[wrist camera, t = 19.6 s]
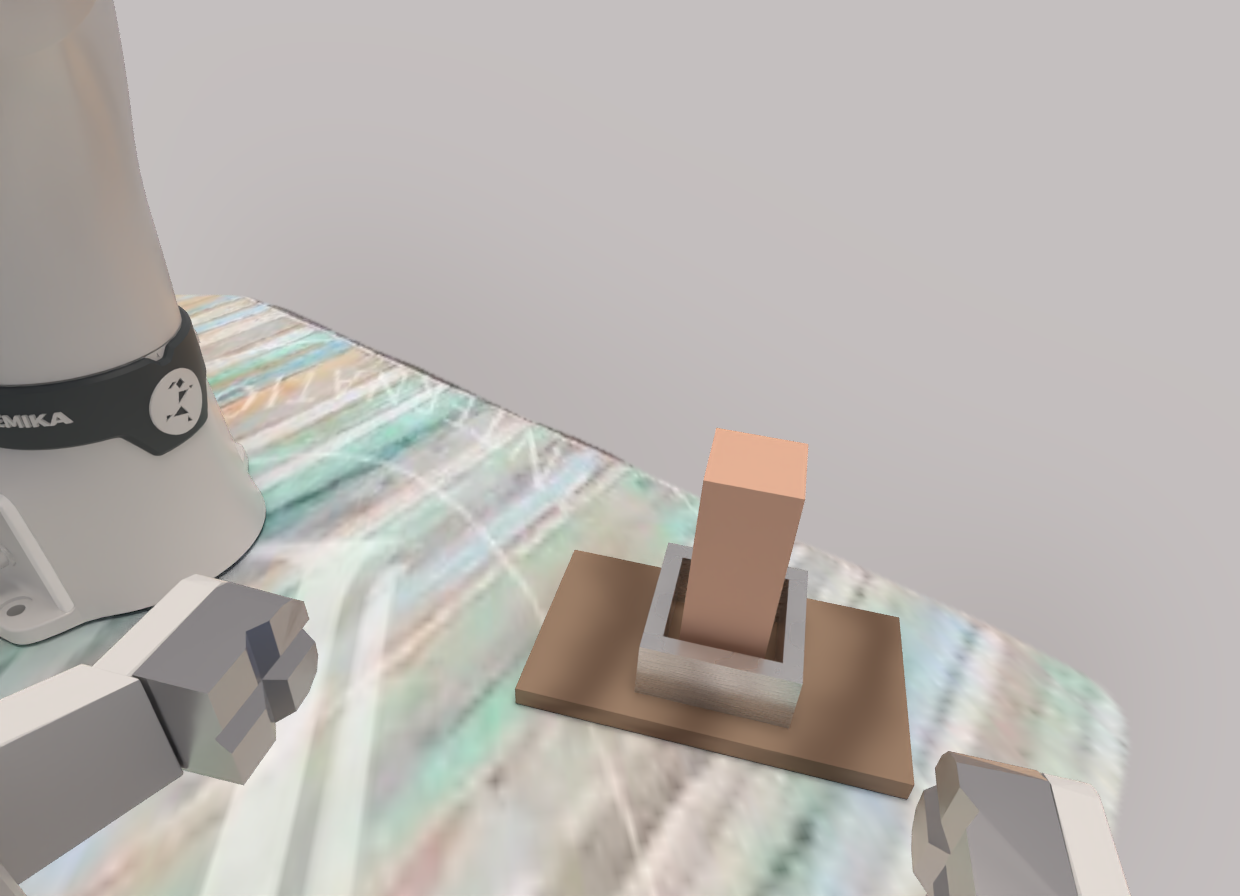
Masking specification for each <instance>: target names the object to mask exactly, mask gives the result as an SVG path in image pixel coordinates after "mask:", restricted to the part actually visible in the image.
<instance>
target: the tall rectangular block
mask: <svg viewBox="0 0 1240 896" xmlns="http://www.w3.org/2000/svg"><path fill="white" fill-rule="evenodd" d="M807 454H808V444H805V443H799V442H794V441H788V440H782V439H777V438H770V437H765V436H760V435H754V434H748V433H742V432H737V431H731V430H725V429H720V428H716V432H715V436H714V440H713V444H712V448H711V452H710V456H709V460H708V465H707V468H706V472H705V476H704V481H703V487H702V494H701V500H700V506H699V513H698V519H697V526H696V533H695V539H694V546H693V552H692V559H691V565H690V572H689V578H688V585H687V591H686V598H685V604H684V611H683V617H682V624H681V630H680V637H679V640H682V641H686V642H691V643H695V644H700V645H704V646H709V647H713V648H717V649H722V650H726V651H731V652H735V653H740V654H744V655H749V656H753V657H758V658H762V659H764V658H765V654H766V651H767V647H768V643H769V639H770V635H771V631H772V627H773V623H774V619H775V615H776V611H777V607H778V603H779V599H780V596H781V592H782V588H783V584H784V580H785V576H786V572H787V568H788V564H789V560H790V556H791V552H792V548H793V544H794V541H795V536H796V533H797V529H798V525H799V521H800V517H801V512H802V509H803V505H804V501H805V488H806V472H807Z"/></svg>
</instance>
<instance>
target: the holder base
mask: <svg viewBox="0 0 1240 896" xmlns="http://www.w3.org/2000/svg"><path fill="white" fill-rule="evenodd" d="M660 572H661V568H660V567H655V566H650V565H645V564H640V563H636V562H631V561H626V560H621V559H617V558H612V557H607V556H602V555H597V554H593V553H588V552H583V551H578V550H574V553H573V555H572V557H571V560H570V562H569V564H568V567H567V569H566V571H565V574H564V576H563V578H562V581H561V583H560V585H559V588H558V590H557V592H556V595H555V597H554V599H553V602H552V604H551V606H550V609H549V611H548V613H547V616H546V618H545V620H544V623H543V625H542V627H541V630H540V632H539V634H538V637H537V639H536V641H535V644H534V646H533V648H532V651H531V653H530V655H529V658H528V660H527V662H526V665H525V667H524V669H523V672H522V674H521V676H520V679H519V681H518V683H517V686H516V688H515V696H516V703H518V704H522V705H526V706H530V707H534V708H538V709H542V710H546V711H550V712H554V713H558V714H562V715H567V716H571V717H575V718H579V719H583V720H587V721H591V722H595V723H599V724H603V725H607V726H611V727H615V728H619V729H623V730H628V731H632V732H636V733H640V734H644V735H648V736H652V737H656V738H660V739H664V740H668V741H672V742H676V743H680V744H685V745H689V746H693V747H697V748H701V749H705V750H709V751H713V752H717V753H721V754H725V755H729V756H733V757H737V758H741V759H746V760H750V761H754V762H758V763H762V764H766V765H770V766H774V767H778V768H782V769H786V770H790V771H794V772H798V773H803V774H807V775H811V776H815V777H819V778H823V779H827V780H831V781H835V782H839V783H843V784H847V785H851V786H855V787H859V788H864V789H868V790H872V791H876V792H880V793H884V794H888V795H892V796H896V797H900V798H904V799H908V797H909V795H910V793H911V791H912V789H913V787H914V777H913V766H912V755H911V744H910V733H909V722H908V711H907V700H906V689H905V677H904V666H903V655H902V644H901V633H900V622H899V618H898V617H894V616H889V615H884V614H879V613H875V612H870V611H865V610H860V609H855V608H851V607H846V606H841V605H836V604H832V603H827V602H822V601H817V600H812V599H808V598H807V602H806V623H805V645H804V666H803V685H802V688H801V691H800V694H799V698H798V701H797V704H796V707H795V711H794V714H793V717H792V720H791V724H790V727H789V728H784V727H780V726H776V725H772V724H768V723H763V722H759V721H755V720H751V719H747V718H742V717H738V716H734V715H730V714H725V713H721V712H717V711H713V710H709V709H704V708H700V707H696V706H692V705H687V704H683V703H679V702H675V701H671V700H666V699H662V698H658V697H654V696H650V695H645V694H641V693H637V692H635V683H636V673H637V664H638V655H639V647H640V643H641V640H642V636H643V632H644V629H645V625H646V622H647V618H648V614H649V611H650V607H651V604H652V600H653V597H654V593H655V589H656V586H657V582H658V579H659V575H660ZM684 604H685V603H683V602H679V601H676V605H675V609H674V613H673V617H672V621H671V625H670V629H669V634H668V638H673V639H677V640H679V637H680V630H681V624H682V617H683V611H684ZM777 627H778V623H776V622H774V623H773V627H772V631H771V635H770V639H769V643H768V647H767V651H766V654H765V658H764V659H767V660H771V661H775V650H776V639H777Z"/></svg>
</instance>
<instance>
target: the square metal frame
mask: <svg viewBox="0 0 1240 896" xmlns="http://www.w3.org/2000/svg"><path fill="white" fill-rule="evenodd" d="M692 552H693V547H688V546H683V545H678V544H673V543H668V546H667V550H666V554H665V557H664V561H663V564H662V568H661V572H660V575H659V579H658V582H657V586H656V589H655V593H654V597H653V600H652V604H651V607H650V611H649V614H648V618H647V622H646V625H645V629H644V632H643V636H642V640H641V643H640V647H639V655H638V664H637V673H636V683H635V692H637V693H641V694H645V695H650V696H654V697H658V698H662V699H666V700H671V701H675V702H679V703H683V704H687V705H692V706H696V707H700V708H704V709H709V710H713V711H717V712H721V713H725V714H730V715H734V716H738V717H742V718H747V719H751V720H755V721H759V722H763V723H768V724H772V725H776V726H780V727H784V728H789V727H790V724H791V720H792V717H793V714H794V711H795V707H796V704H797V701H798V698H799V694H800V691H801V688H802V685H803V666H804V645H805V623H806V602H807V580H808V571H806V570H801V569H796V568H791V567H788V568H787V572H786V576H785V580H784V584H783V588H782V592H781V596H780V599H779V603H778V607H777V611H776V615H775V619H774V622H776V623H778V627H777V639H776V650H775V661H771V660H767V659H762V658H758V657H753V656H749V655H744V654H740V653H735V652H731V651H726V650H722V649H717V648H713V647H709V646H704V645H700V644H695V643H691V642H686V641H682V640H677V639H673V638H668V634H669V629H670V625H671V621H672V617H673V613H674V609H675V605H676V601H679V602H683V603H685V598H686V591H687V585H688V578H689V572H690V565H691V559H692Z"/></svg>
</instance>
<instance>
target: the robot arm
mask: <svg viewBox="0 0 1240 896" xmlns="http://www.w3.org/2000/svg"><path fill="white" fill-rule="evenodd" d="M199 343H200V341H199V338H198V335H197V332H196V331H195V329H194V328H193V325H192V322H191V319H190V317H189V315H188V314H187V312H186V311H185V310H184V309H182V308H181V307H180V306H178V304H177V301H176V297H175V294H174V290H173V287H172V283H171V280H170V276H169V273H168V269H167V266H166V262H165V259H164V256H163V252H162V249H161V246H160V243H159V239H158V235H157V232H156V229H155V225H154V222H153V219H152V215H151V212H150V209H149V206H148V202H147V198H146V194H145V190H144V187H143V182H142V178H141V174H140V169H139V164H138V159H137V153H136V146H135V141H134V133H133V126H132V115H131V107H130V100H129V91H128V84H127V77H126V71H125V64H124V58H123V51H122V45H121V40H120V34H119V28H118V23H117V17H116V12H115V6H114V1H113V0H0V637H2V638H4V639H6V640H8V641H10V642H11V643H14V644H30V643H35V642H38V641H41V640H44V639H47V638H49V637H52V636H54V635H57V634H59V633H62V632H64V631H66V630H68V629H71V628H73V627H75V626H78V625H80V624H82V623H84V622H87V621H90V620H94V619H98V618H102V617H106V616H111V615H117V614H122V613H127V612H131V611H136V610H140V609H143V608H147V607H150V606H154V605H155V606H154V607H153V608H152V609H151V610H150V611H149V612H148V613H147V614H146V615H145V616H144V617H143V618H142V619H141V620H139V621H138V622H137V623H136V624H135V625H134V626H133V627H132V628H131V629H130V630H129V631H128V632H127V633H126V634H125V635H124V636H123V637H122V638H121V639H120V640H119V641H118V642H117V643H116V644H115V645H114V646H113V647H112V648H110V649H109V650H108V651H107V652H106V653H105V654H104V655H103V656H102V657H101V658H100V659H99V660H98V661H97V662H96V663H95V664H94V665H93V666H90V665H85V664H80V665H78V666H76V667H73V668H71V669H69V670H67V671H64V672H62V673H60V674H57V675H55V676H53V677H51V678H48V679H46V680H44V681H41V682H39V683H37V684H35V685H32V686H30V687H28V688H25V689H23V690H21V691H19V692H16V693H14V694H12V695H9V696H7V697H5V698H3V699H0V896H27V895H26V894H25V893H24V892H23V890H22V889H21V888H20V887H19V884H20V883H22V882H23V881H25V880H26V879H28V878H29V877H31V876H32V875H34V874H35V873H37V872H38V871H40V870H41V869H43V868H44V867H46V866H47V865H49V864H50V863H52V862H53V861H55V860H56V859H58V858H59V857H61V856H62V855H64V854H65V853H67V852H68V851H70V850H71V849H73V848H74V847H76V846H77V845H79V844H80V843H82V842H83V841H85V840H86V839H87V838H89V837H90V836H92V835H93V834H95V833H96V832H98V831H99V830H101V829H102V828H104V827H105V826H107V825H108V824H110V823H111V822H113V821H114V820H116V819H117V818H119V817H120V816H122V815H123V814H125V813H126V812H128V811H129V810H131V809H132V808H134V807H135V806H137V805H138V804H140V803H141V802H143V801H144V800H146V799H147V798H149V797H150V796H152V795H153V794H155V793H156V792H158V791H159V790H161V789H162V788H164V787H165V786H167V785H168V784H170V783H171V782H173V781H174V780H176V779H177V778H179V777H180V776H182V775H183V771H182V770H185V771H189V772H193V773H197V774H201V775H205V776H209V777H213V778H217V779H221V780H225V781H229V782H233V783H237V784H241V785H244V784H245V783H246V781H247V780H248V779H249V777H250V776H251V774H252V773H253V772H254V770H255V769H256V767H257V766H258V765H259V763H260V762H261V760H262V759H263V758H264V756H265V755H266V753H267V752H268V750H269V749H270V748H271V746H272V745H273V743H274V742H275V741H276V725H275V723H276V722H278V721H279V720H281V719H283V718H285V717H287V716H288V715H290V714H292V713H294V712H295V711H297V709H298V708H299V706H300V705H301V703H302V702H303V700H304V699H305V697H306V696H307V694H308V693H309V691H310V688H311V685H312V683H313V680H314V677H315V675H316V672H317V662H318V653H317V648H316V644H315V641H314V640H313V639H312V638H311V637H310V636H309V635H308V634H307V633H306V632H305V631H304V630H303V629H302V628H303V627H304V625H305V624H306V623H307V621H308V620H309V617H308V613H307V610H306V607H305V604H304V601H300V600H296V599H292V598H289V597H285V596H281V595H277V594H273V593H269V592H266V591H262V590H258V589H254V588H250V587H246V586H243V585H239V584H235V583H232V582H228V581H223V580H219V579H215V578H214V577H216V576H218V575H219V574H220V573H222V572H223V571H225V570H226V569H227V568H229V567H230V566H231V565H232V564H234V563H235V562H236V561H237V560H238V559H239V558H240V557H241V556H242V555H243V554H244V553H245V552H246V551H247V550H248V549H249V548H250V546H251V545H252V544H253V543H254V541H255V540H256V538H257V537H258V535H259V533H260V531H261V529H262V527H263V524H264V520H265V515H266V506H265V501H264V498H263V496H262V494H261V492H260V491H259V489H258V487H257V486H256V484H255V483H254V481H253V480H252V478H251V476H250V475H249V473H248V457H247V455H246V453H245V450H244V448H243V446H242V445H241V444H239V443H236V442H234V440H233V438H232V435H231V433H230V431H229V428H228V426H227V424H226V421H225V419H224V417H223V414H222V412H221V410H220V407H219V405H218V403H217V400H216V398H215V396H214V393H213V391H212V389H211V387H210V384H209V382H208V380H207V378H206V367H205V363H204V360H203V357H202V353H201V350H200V346H199ZM935 773H936V783H937V785H936V786H933V787H931V788H929V789H926V790H924V791H923V793H922V795H921V798H920V800H919V802H918V804H917V807H916V810H915V816H914V821H913V826H912V843H911V852H912V867H913V873H914V874H915V876H916V877H917V879H918V880H919V882H920V883H921V885H922V886H923V888H924V889H925V891H926V892H927V894H926V896H1131V894H1130V891H1129V888H1128V884H1127V882H1126V878H1125V875H1124V872H1123V869H1122V866H1121V862H1120V859H1119V856H1118V853H1117V850H1116V846H1115V843H1114V840H1113V837H1112V834H1111V830H1110V827H1109V824H1108V821H1107V818H1106V815H1105V811H1104V808H1103V805H1102V802H1101V799H1100V796H1099V794H1098V793H1097V791H1096V790H1095V789H1094V787H1093V786H1092V785H1091V784H1087V783H1084V782H1080V781H1076V780H1071V779H1067V778H1062V777H1058V776H1053V775H1049V774H1044V773H1039V772H1038V771H1037V770H1033V769H1028V768H1023V767H1019V766H1014V765H1010V764H1005V763H1001V762H996V761H992V760H987V759H983V758H978V757H973V756H969V755H964V754H960V753H955V752H951V751H948V752H947V753H945V754H943V755H942V756H941V758H940V760H939V762H938V764H937V765H936V767H935Z"/></svg>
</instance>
